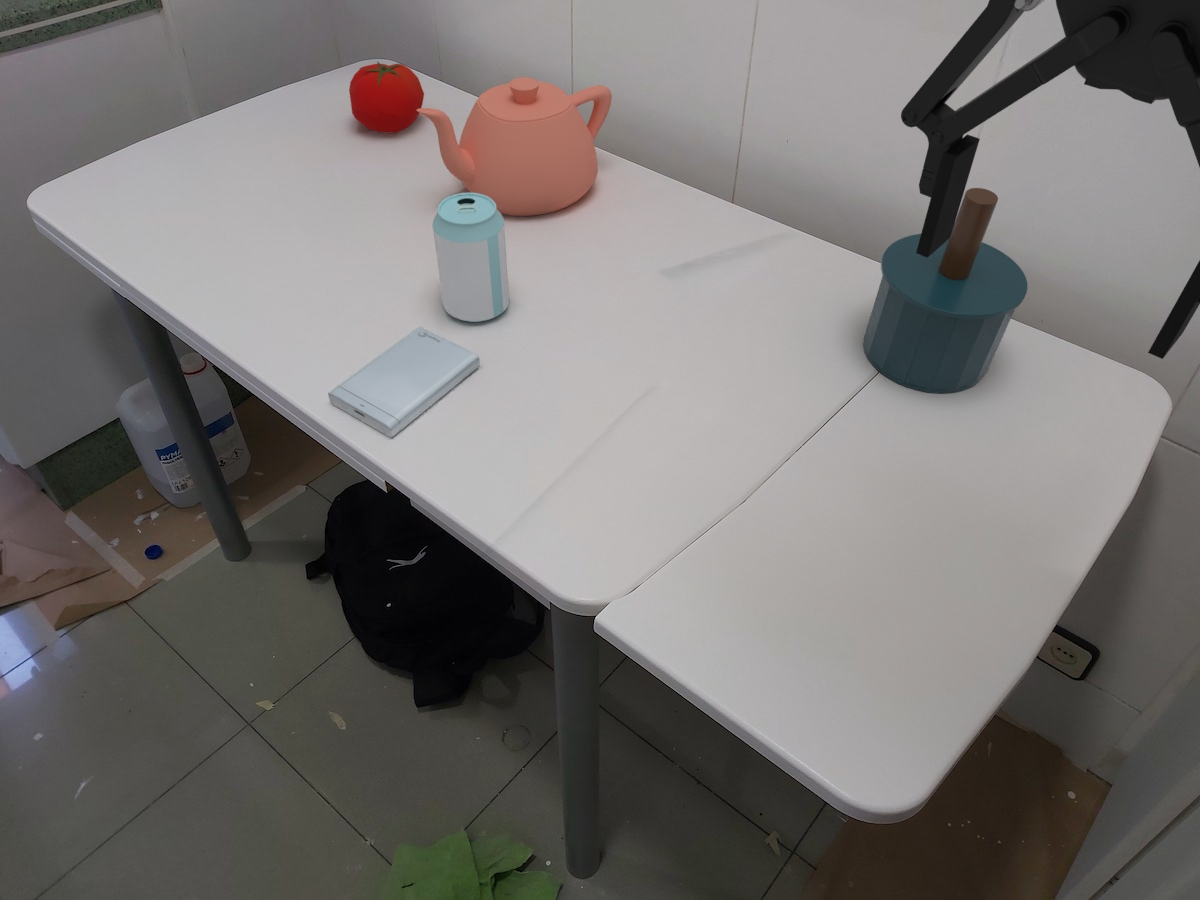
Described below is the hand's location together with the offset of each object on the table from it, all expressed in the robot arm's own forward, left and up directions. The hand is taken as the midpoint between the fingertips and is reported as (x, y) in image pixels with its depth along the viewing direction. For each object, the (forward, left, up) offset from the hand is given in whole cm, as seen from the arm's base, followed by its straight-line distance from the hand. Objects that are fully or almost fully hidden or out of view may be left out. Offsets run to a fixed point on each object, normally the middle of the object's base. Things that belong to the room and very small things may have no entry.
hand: (1041, 291), depth 50 cm
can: (+52, +1, -29) cm, 59 cm away
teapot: (+67, -19, -29) cm, 75 cm away
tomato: (+92, -17, -29) cm, 98 cm away
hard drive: (+47, +14, -29) cm, 57 cm away
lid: (+14, -27, -19) cm, 36 cm away
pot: (+14, -27, -29) cm, 42 cm away
